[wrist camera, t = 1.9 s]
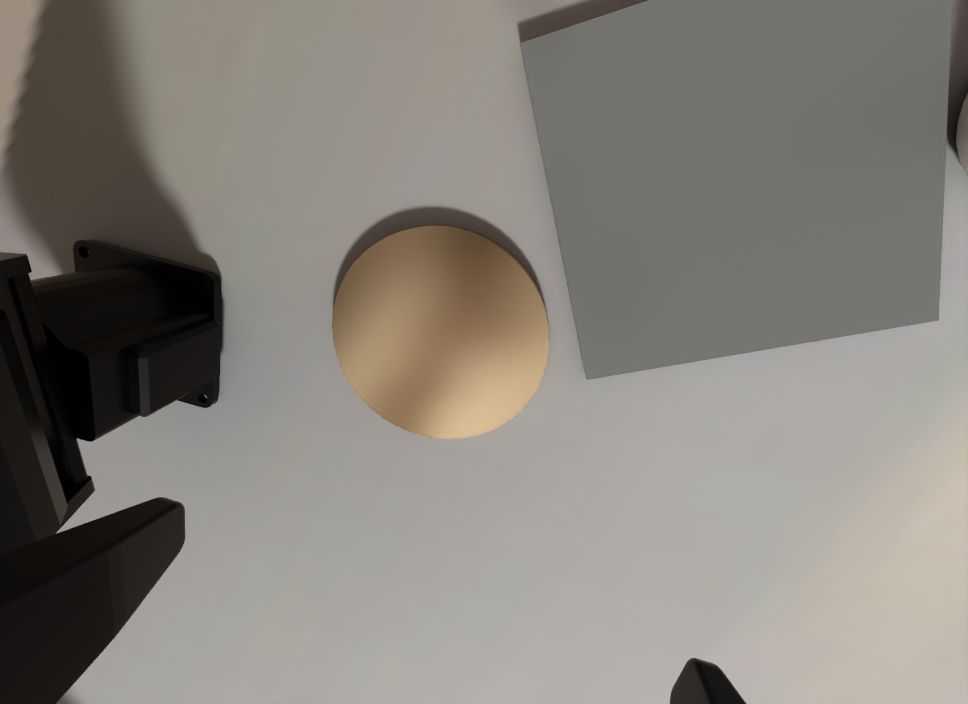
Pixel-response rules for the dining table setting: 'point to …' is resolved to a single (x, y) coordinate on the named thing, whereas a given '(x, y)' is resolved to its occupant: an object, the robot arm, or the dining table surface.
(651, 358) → the slate coaster
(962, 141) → the beverage can
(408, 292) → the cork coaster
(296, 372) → the dining table surface
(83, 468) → the robot arm
